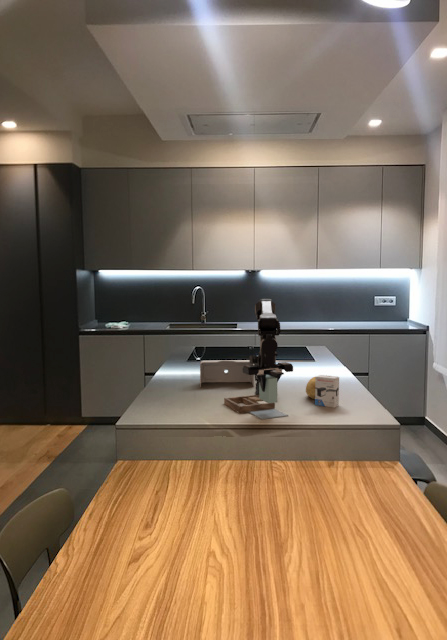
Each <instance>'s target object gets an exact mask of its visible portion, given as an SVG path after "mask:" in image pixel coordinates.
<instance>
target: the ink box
mask: <svg viewBox="0 0 447 640" xmlns="http://www.w3.org/2000/svg"><path fill="white" fill-rule="evenodd" d="M316 376H317V377H316ZM316 376H315V377H316V381H315V399H314V405H315V406H321V407H329V408H334V409H335V408H337V407H338V406H339V405H340V404H339V403H340V377H339V376H337V375H336V376H334V375H325V374H319V375H316Z"/></svg>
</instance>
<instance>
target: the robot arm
mask: <svg viewBox="0 0 447 640" xmlns="http://www.w3.org/2000/svg"><path fill="white" fill-rule="evenodd" d="M276 309H277V308H276V303H275V302H273V299H271V298H261V299H259V301H258V302H256V303H255V305H254V311H255V312H254V313H255V316H256V320H257V336H259V337H260V338H259V341H260V342H259V352H258V356H257V355H256V354H250V355H249V359H248V360H249V361H250V364H253V365H244V367H243V373H245V374H247V375H254V382H256V383H255V391H254V393H255V394H256V395H259V383H260V386H261V389H262V391H263V392H265V382H266V375H270V376H272V377H275V378H277V384H278V383H279V381H280V378H281V377H282V376H283V375H285V373H291V372H294V365H293V364H292V363H289V362H286V361H285V362H284V361H282V362H277V358H276V357H278V353H277V350H278V346H279V345H278V341H277V337H279V336H280V334H281V333H282V330H281V322H280V320H279V319H278V318H277V315H276ZM276 336H277V337H276ZM276 362H277V363H276ZM283 371H285V373H284V372H283Z"/></svg>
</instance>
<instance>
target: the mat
mask: <svg viewBox="0 0 447 640" xmlns="http://www.w3.org/2000/svg"><path fill="white" fill-rule="evenodd" d="M248 413H249V414H251V415H252V416H255V417H256V418H258V419H260V420H269V419H275V418H277V419H278V418H284V417H289V414H286V413H284V412H283V411H280V410H279V409H276V408H275V409H274V408H273V409H264V410H256V411H249V412H248Z"/></svg>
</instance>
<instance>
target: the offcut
mask: <svg viewBox="0 0 447 640" xmlns="http://www.w3.org/2000/svg"><path fill="white" fill-rule="evenodd" d="M248 400H250V401H252V402H254V403H256V402H258V401H262V400H261V399H259V398H258V397H249V398H248Z"/></svg>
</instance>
